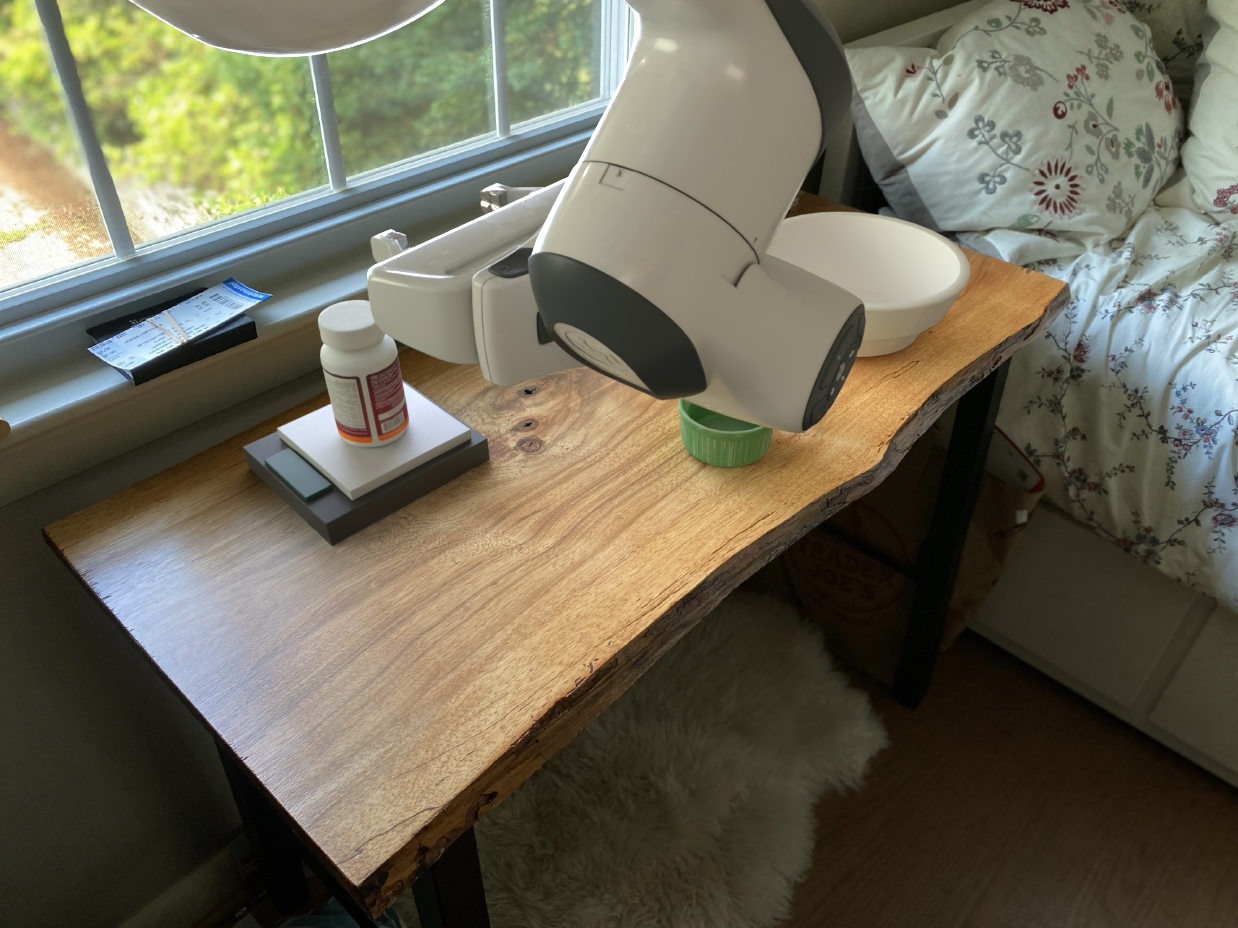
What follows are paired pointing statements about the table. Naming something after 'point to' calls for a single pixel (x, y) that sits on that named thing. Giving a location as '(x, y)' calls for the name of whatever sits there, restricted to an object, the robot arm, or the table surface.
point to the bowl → (879, 270)
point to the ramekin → (721, 437)
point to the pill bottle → (362, 376)
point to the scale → (363, 466)
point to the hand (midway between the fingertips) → (436, 220)
